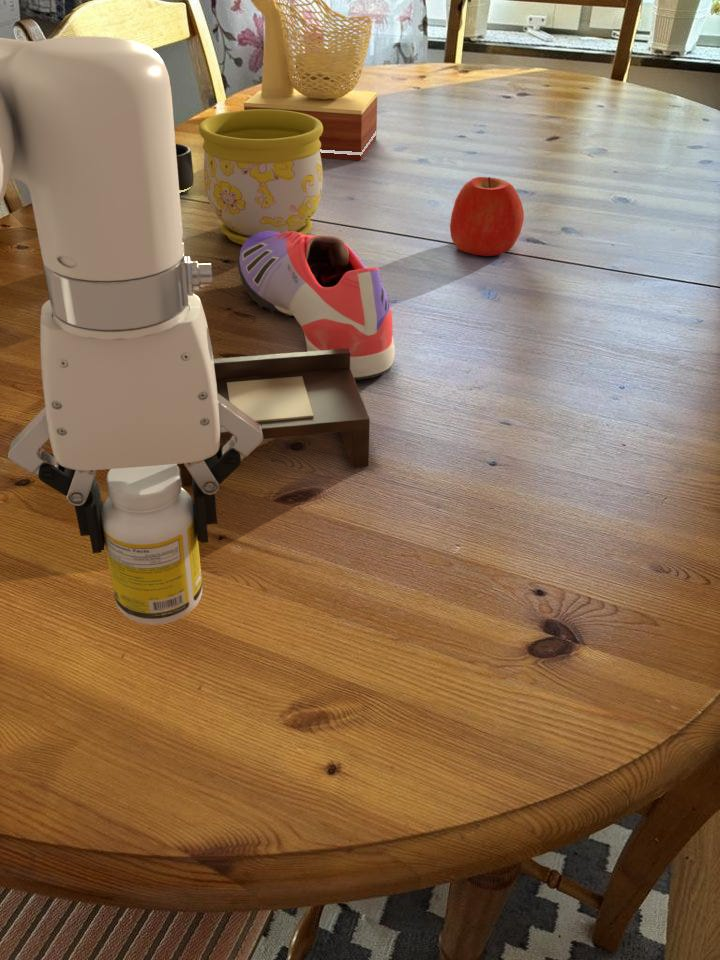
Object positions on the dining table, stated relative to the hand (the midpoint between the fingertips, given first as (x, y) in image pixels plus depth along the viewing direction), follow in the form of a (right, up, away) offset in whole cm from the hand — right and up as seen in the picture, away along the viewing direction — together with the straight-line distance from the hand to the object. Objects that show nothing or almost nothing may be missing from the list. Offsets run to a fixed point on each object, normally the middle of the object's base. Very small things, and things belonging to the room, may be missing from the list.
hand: (151, 533), depth 58 cm
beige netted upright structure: (+4, +72, +117) cm, 138 cm away
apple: (+33, +39, +73) cm, 89 cm away
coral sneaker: (+8, +24, +52) cm, 57 cm away
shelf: (+5, +7, +29) cm, 30 cm away
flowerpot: (-1, +42, +77) cm, 87 cm away
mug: (-19, +53, +91) cm, 107 cm away
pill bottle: (0, -5, +4) cm, 6 cm away
